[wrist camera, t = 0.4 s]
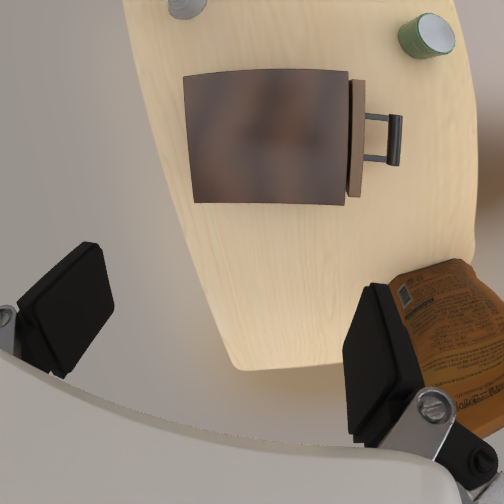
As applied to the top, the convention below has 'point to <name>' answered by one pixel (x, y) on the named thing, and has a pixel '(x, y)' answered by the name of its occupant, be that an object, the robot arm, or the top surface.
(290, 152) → the cabinet
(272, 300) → the top surface
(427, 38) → the can
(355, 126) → the drawer
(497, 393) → the pancake mix bag
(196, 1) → the chalice
